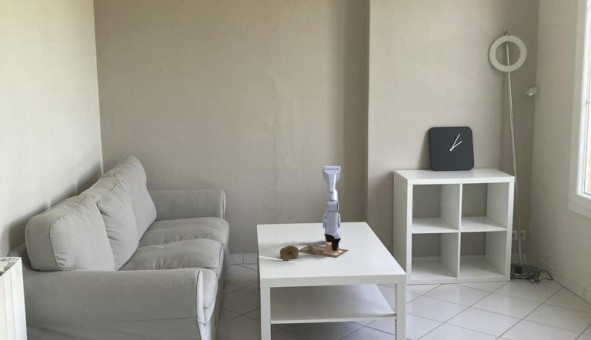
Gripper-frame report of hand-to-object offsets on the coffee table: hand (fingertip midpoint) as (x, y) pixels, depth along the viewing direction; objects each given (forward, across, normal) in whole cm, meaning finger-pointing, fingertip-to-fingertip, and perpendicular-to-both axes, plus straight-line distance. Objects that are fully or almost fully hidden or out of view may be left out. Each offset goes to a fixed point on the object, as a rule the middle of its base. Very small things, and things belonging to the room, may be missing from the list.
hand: (332, 248), depth 317 cm
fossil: (+3, +2, -24) cm, 24 cm away
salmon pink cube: (+2, 0, 0) cm, 2 cm away
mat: (+3, 0, 0) cm, 3 cm away
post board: (+3, -4, -4) cm, 7 cm away
